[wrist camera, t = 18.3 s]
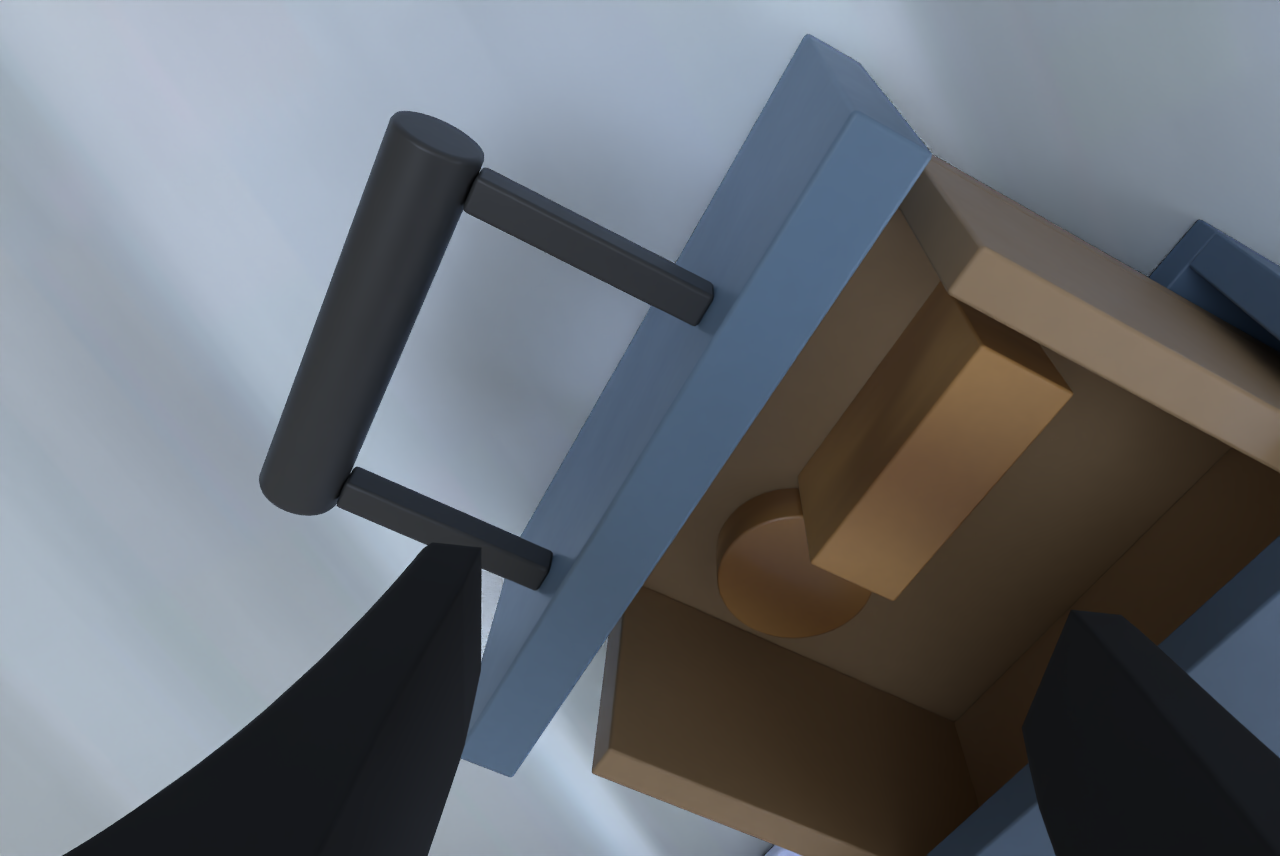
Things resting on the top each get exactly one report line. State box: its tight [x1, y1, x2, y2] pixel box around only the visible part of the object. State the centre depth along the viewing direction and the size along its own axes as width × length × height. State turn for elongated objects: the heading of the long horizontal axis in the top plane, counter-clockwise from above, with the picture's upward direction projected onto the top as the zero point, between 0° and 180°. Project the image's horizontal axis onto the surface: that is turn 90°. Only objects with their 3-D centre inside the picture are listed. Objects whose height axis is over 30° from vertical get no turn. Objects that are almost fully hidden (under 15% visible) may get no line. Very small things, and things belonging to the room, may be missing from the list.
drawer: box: [259, 34, 1280, 856], centre depth 18 cm, size 18×13×6 cm
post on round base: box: [716, 281, 1073, 638], centre depth 19 cm, size 9×3×3 cm, turn 153°
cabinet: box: [926, 220, 1280, 856], centre depth 20 cm, size 14×15×8 cm
